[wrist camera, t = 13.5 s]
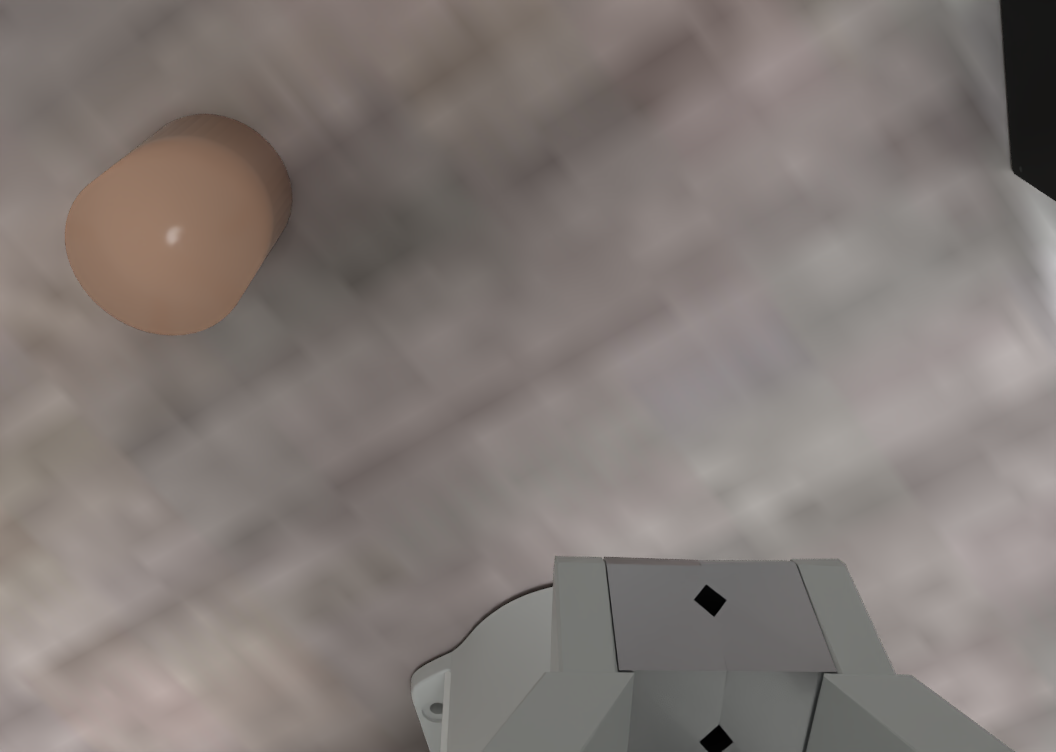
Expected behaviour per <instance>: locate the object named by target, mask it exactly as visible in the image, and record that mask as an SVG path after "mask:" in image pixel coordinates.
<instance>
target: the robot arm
mask: <svg viewBox="0 0 1056 752" xmlns="http://www.w3.org/2000/svg"><path fill="white" fill-rule="evenodd" d="M411 697H412V701H413V704H414V707H415V710H416V713H417V716H418V719H419V721H420V724H421V727H422V730H423V733H424V736H425V739H426V742H427V745H428V748H429V751H430V752H1015V751H1013V750H1012V749H1011V748H1009V747H1008V746H1007V745H1005V744H1004V743H1003V742H1001V741H1000V740H999V739H997V738H996V737H995V736H993V735H992V734H990V733H989V732H988V731H986V730H985V729H984V728H982V727H981V726H980V725H978V724H977V723H976V722H974V721H973V720H972V719H970V718H969V717H967V716H966V715H965V714H963V713H962V712H961V711H959V710H958V709H957V708H955V707H954V706H953V705H951V704H950V703H949V702H947V701H946V700H944V699H943V698H942V697H940V696H939V695H938V694H936V693H935V692H934V691H932V690H931V689H930V688H928V687H927V686H926V685H924V684H923V683H921V682H920V681H919V680H917V679H916V678H915V677H913V676H912V675H896V673H895V670H894V668H893V666H892V664H891V662H890V660H889V657H888V655H887V653H886V651H885V649H884V647H883V644H882V642H881V640H880V638H879V636H878V634H877V631H876V629H875V627H874V625H873V623H872V621H871V618H870V616H869V614H868V612H867V610H866V608H865V605H864V603H863V601H862V599H861V597H860V595H859V592H858V590H857V588H856V586H855V584H854V581H853V579H852V577H851V575H850V573H849V571H848V568H847V566H846V564H844V563H843V562H842V561H841V560H839V559H791V560H790V561H787V560H686V559H655V558H623V557H604V559H602V558H601V557H565V556H555V561H554V572H553V587H550V588H546V589H542V590H539V591H536V592H533V593H530V594H527V595H525V596H522V597H520V598H518V599H515V600H513V601H511V602H510V603H508V604H506V605H504V606H502V607H501V608H499V609H498V610H496V611H495V612H493V613H492V614H491V615H489V616H488V617H487V618H486V619H485V620H483V621H482V622H481V623H480V624H479V625H478V626H477V627H476V628H475V629H474V630H473V632H472V633H471V634H470V635H469V636H468V637H467V638H466V639H465V641H464V642H463V643H462V644H461V645H460V646H459V647H458V648H456V649H455V650H454V651H453V652H451V653H448V654H446V655H444V656H442V657H440V658H438V659H436V660H433V661H431V662H430V663H428V664H426V665H424V666H423V667H421V668H419V669H418V670H417V671H416V672H415V673H414V674H413V676H412V679H411Z"/></svg>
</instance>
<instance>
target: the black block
mask: <svg viewBox="0 0 1056 752" xmlns="http://www.w3.org/2000/svg"><path fill="white" fill-rule="evenodd" d="M1001 4H1002V19H1003V35H1004V50H1005V65H1006V81H1007V96H1008V112H1009V127H1010V142H1011V155H1012V169H1013V172H1014V174H1016V175H1017V176H1019V177H1020V178H1022V179H1023V180H1025V181H1026V182H1028V183H1029V184H1031V185H1032V186H1034V187H1035V188H1037V189H1038V190H1040V191H1041V192H1043V193H1044V194H1046V195H1047V196H1049V197H1050V198H1052V199H1053V200H1055V201H1056V0H1001Z"/></svg>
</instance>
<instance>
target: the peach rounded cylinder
mask: <svg viewBox="0 0 1056 752" xmlns="http://www.w3.org/2000/svg"><path fill="white" fill-rule="evenodd" d="M291 207H292V189H291V184H290V179H289V176H288V173H287V170H286V168H285V166H284V164H283V162H282V160H281V158H280V157H279V155H278V154H277V152H276V151H275V150H274V148H273V147H272V146H271V145H270V144H269V143H268V142H267V141H266V140H265V139H264V138H263V137H262V136H261V135H260V134H258V133H257V132H256V131H255V130H253V129H251V128H250V127H248V126H247V125H245V124H243V123H241V122H238V121H236V120H234V119H231V118H228V117H224V116H219V115H213V114H195V115H189V116H185V117H182V118H179V119H176V120H174V121H172V122H170V123H168V124H167V125H165V126H164V127H163V128H161V129H160V130H159V131H157V132H156V133H155V134H153V135H152V136H151V137H150V138H148V139H147V140H146V141H144V142H143V143H142V144H140V145H139V146H138V147H137V148H135V149H134V150H133V151H131V152H130V153H129V154H127V155H126V156H125V157H124V158H122V159H121V160H120V161H118V162H117V163H116V164H114V165H113V166H112V167H110V168H109V169H108V170H107V171H105V172H104V173H103V174H101V175H100V176H99V177H97V178H96V179H95V180H94V181H92V182H91V183H90V184H88V185H87V186H86V187H85V188H84V189H83V190H82V191H81V192H80V193H79V195H78V196H77V198H76V199H75V201H74V202H73V204H72V206H71V208H70V211H69V214H68V217H67V221H66V227H65V245H66V251H67V256H68V259H69V262H70V265H71V268H72V270H73V272H74V274H75V276H76V278H77V280H78V281H79V283H80V285H81V286H82V287H83V289H84V290H85V291H86V293H87V294H88V295H89V296H90V297H91V298H92V300H93V301H94V302H95V303H96V304H97V305H99V306H100V307H101V308H102V309H103V310H104V311H106V312H107V313H108V314H110V315H111V316H113V317H114V318H116V319H117V320H119V321H121V322H123V323H125V324H127V325H129V326H131V327H134V328H136V329H139V330H142V331H146V332H149V333H154V334H160V335H186V334H191V333H196V332H199V331H202V330H205V329H207V328H209V327H211V326H214V325H215V324H217V323H218V322H220V321H221V320H223V319H224V318H225V317H226V316H227V315H228V314H229V313H230V312H231V311H232V310H233V308H234V307H235V306H236V305H237V303H238V301H239V300H240V298H241V297H242V295H243V294H244V292H245V290H246V289H247V287H248V286H249V284H250V282H251V281H252V279H253V278H254V276H255V275H256V273H257V271H258V270H259V268H260V267H261V265H262V264H263V262H264V260H265V259H266V257H267V256H268V254H269V252H270V251H271V249H272V248H273V246H274V245H275V243H276V241H277V240H278V238H279V237H280V235H281V234H282V232H283V230H284V228H285V227H286V225H287V222H288V220H289V217H290V212H291Z"/></svg>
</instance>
